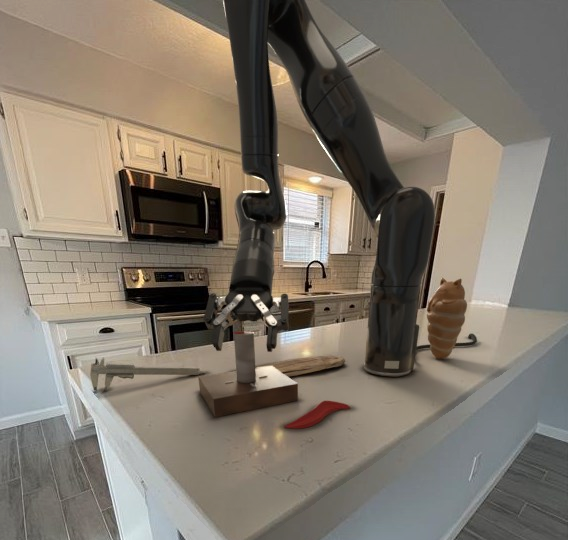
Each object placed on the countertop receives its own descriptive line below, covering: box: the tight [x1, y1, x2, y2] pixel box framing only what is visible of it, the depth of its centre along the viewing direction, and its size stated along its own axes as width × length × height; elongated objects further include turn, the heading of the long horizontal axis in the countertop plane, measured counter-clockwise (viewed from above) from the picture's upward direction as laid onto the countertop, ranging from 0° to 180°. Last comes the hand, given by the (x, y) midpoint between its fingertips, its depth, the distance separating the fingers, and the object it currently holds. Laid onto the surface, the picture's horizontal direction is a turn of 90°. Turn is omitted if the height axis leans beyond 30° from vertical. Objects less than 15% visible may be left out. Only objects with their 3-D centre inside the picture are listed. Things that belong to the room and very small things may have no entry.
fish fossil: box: [234, 354, 346, 378], centre depth 69 cm, size 26×10×1 cm, turn 118°
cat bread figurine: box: [426, 277, 468, 359], centre depth 72 cm, size 9×8×18 cm
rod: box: [233, 330, 256, 383], centre depth 53 cm, size 3×3×8 cm
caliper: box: [89, 356, 206, 392], centre depth 62 cm, size 20×1×6 cm, turn 119°
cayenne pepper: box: [284, 400, 351, 429], centre depth 48 cm, size 12×5×2 cm, turn 115°
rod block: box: [198, 366, 299, 418], centre depth 55 cm, size 14×11×3 cm
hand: (243, 349), depth 52 cm, fingers open, 8 cm apart
